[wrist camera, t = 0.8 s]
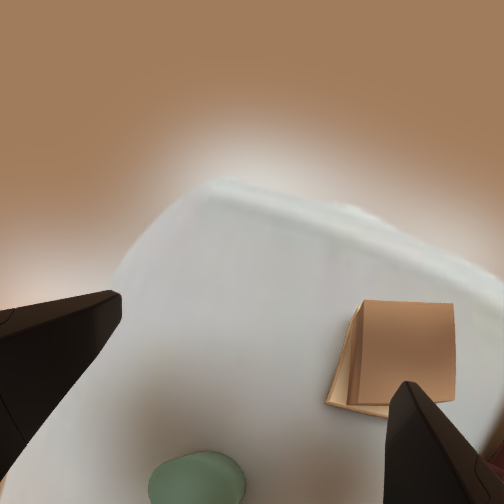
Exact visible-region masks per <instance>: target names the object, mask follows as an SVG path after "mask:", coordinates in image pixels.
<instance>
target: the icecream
mask: <svg viewBox="0 0 504 504" xmlns="http://www.w3.org/2000/svg"><path fill="white" fill-rule="evenodd" d="M484 461H485V462H486V464H487V465H488V466H489V467H490V468H491V469H492V471H493V472H494V473H495V474H496V475H497V476H498V477H499V478H500V479H501V480H502V481H503V482H504V441H503V443H502V444H501V446H500V448H499V449H498V451H497V452H496V454H495V455H494V456H493V458H492V459H491V461H489V460H484Z"/></svg>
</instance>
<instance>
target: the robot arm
mask: <svg viewBox="0 0 504 504" xmlns="http://www.w3.org/2000/svg"><path fill="white" fill-rule="evenodd" d="M121 318H122V297H121V295H120V294H119V293H117V292H114V291H112V290H106V291H101V292H96V293H91V294H86V295H81V296H75V297H70V298H65V299H60V300H55V301H50V302H44V303H39V304H34V305H29V306H23V307H18V308H16V309H15V308H12V309H7V310H1V311H0V482H1V480H2V479H3V477H4V476H5V475H6V473H7V472H8V470H9V469H10V468H11V466H12V465H13V463H14V462H15V461H16V459H17V458H18V457H19V455H20V454H21V453H22V451H23V450H24V448H25V447H26V446H27V444H28V443H29V441H30V440H31V439H32V437H33V436H34V435H35V433H36V432H37V431H38V430H39V428H40V427H41V426H42V424H43V423H44V422H45V420H46V419H47V418H48V417H49V415H50V414H51V413H52V411H53V410H54V409H55V408H56V406H57V405H58V404H59V402H60V401H61V400H62V399H63V397H64V396H65V395H66V394H67V392H68V391H69V390H70V389H71V387H72V386H73V385H74V384H75V383H76V381H77V380H78V379H79V378H80V376H81V375H82V374H83V373H84V372H85V370H86V369H87V368H88V367H89V365H90V364H91V363H92V362H93V361H94V359H95V358H96V357H97V356H98V354H99V353H100V351H101V350H102V348H103V347H104V345H105V344H106V342H107V341H108V339H109V338H110V336H111V335H112V333H113V332H114V330H115V329H116V327H117V326H118V324H119V323H120V321H121ZM383 504H504V482H503V481H502V480H501V479H500V478H499V477H498V476H497V475H496V474H495V473H494V472H493V471H492V469H491V468H490V467H489V466H488V465H487V464H486V462H485V461H484V460H483V459H482V458H481V456H480V455H479V454H477V452H476V451H475V449H474V448H473V447H472V446H471V445H470V443H469V442H468V441H467V440H466V439H465V438H464V436H463V435H462V434H461V433H460V432H459V431H458V429H457V428H456V427H455V426H454V425H453V424H452V422H451V421H450V420H449V419H448V418H447V417H446V416H445V414H444V413H443V412H442V411H441V410H440V409H439V408H438V406H437V405H436V404H435V403H434V402H433V401H432V400H431V398H430V397H429V396H428V395H427V394H426V393H425V392H424V391H423V389H422V388H421V387H420V386H419V385H418V384H417V383H416V382H412V381H407V380H406V381H403V382H402V383H401V385H400V386H399V388H398V389H397V391H396V392H395V394H394V395H393V397H392V398H391V400H390V404H389V413H388V424H387V433H386V443H385V476H384V497H383Z"/></svg>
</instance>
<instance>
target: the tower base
mask: <svg viewBox="0 0 504 504" xmlns="http://www.w3.org/2000/svg"><path fill="white" fill-rule="evenodd" d="M360 307H361V305H358V307H357V309H356V311H355V313H354V315H353V317H352V319H351V322H350V325H349V329H348V332H347V336H346V339H345V343H344V346H343V349H342V353H341V356H340V359H339V362H338V366H337V369H336V372H335V375H334V378H333V381H332V384H331V387H330V390H329V393H328V396H327V398H326V401H325V404H329V405H333V406H336V407H340V408H344V409H348V410H352V411H356V412H360V413H364V414H368V415H373V416H377V417H382V418H386V419H388V413H389V406H355V405H346V403H347V394H348V384H349V374H350V362H351V348H352V332H353V320H354V318H355V316H356V314H357V313H358V311H359V309H360Z"/></svg>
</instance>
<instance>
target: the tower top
mask: <svg viewBox="0 0 504 504" xmlns="http://www.w3.org/2000/svg"><path fill="white" fill-rule="evenodd" d="M406 380H407V381H412V382H416V383H417V384H418V385H419V386H420V387H421V388H422V389H423V391H424V392H425V393H426V394H427V395H428V396H429V397H430V398H431V400H432V401H433V402H434V403H441V402H447V401H453V400H455V380H456V347H455V323H454V309H453V303H421V302H397V301H377V300H364V301H363V303H362V305H361V307H360V309H359V311H358V313H357V314H356V316H355V318H354V320H353V332H352V348H351V362H350V374H349V384H348V394H347V403H346V405H355V406H389V404H390V400H391V398H392V397H393V395H394V394H395V392H396V391H397V389H398V388H399V386H400V385H401V383H402V382H403V381H406Z"/></svg>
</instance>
